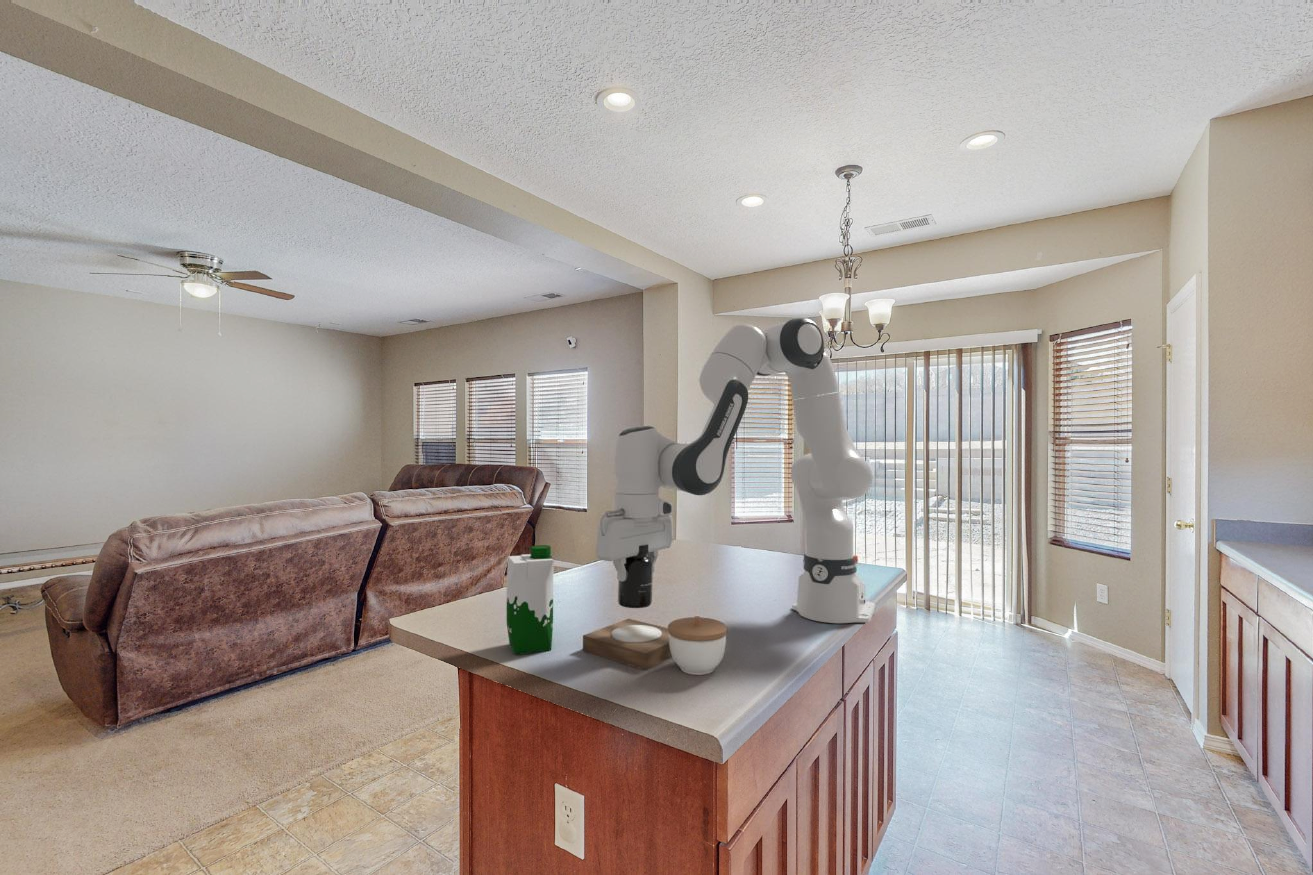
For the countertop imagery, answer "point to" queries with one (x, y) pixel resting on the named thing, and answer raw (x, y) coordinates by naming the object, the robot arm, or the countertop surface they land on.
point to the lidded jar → (697, 644)
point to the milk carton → (530, 600)
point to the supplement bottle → (637, 581)
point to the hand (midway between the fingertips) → (636, 576)
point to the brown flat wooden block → (630, 643)
